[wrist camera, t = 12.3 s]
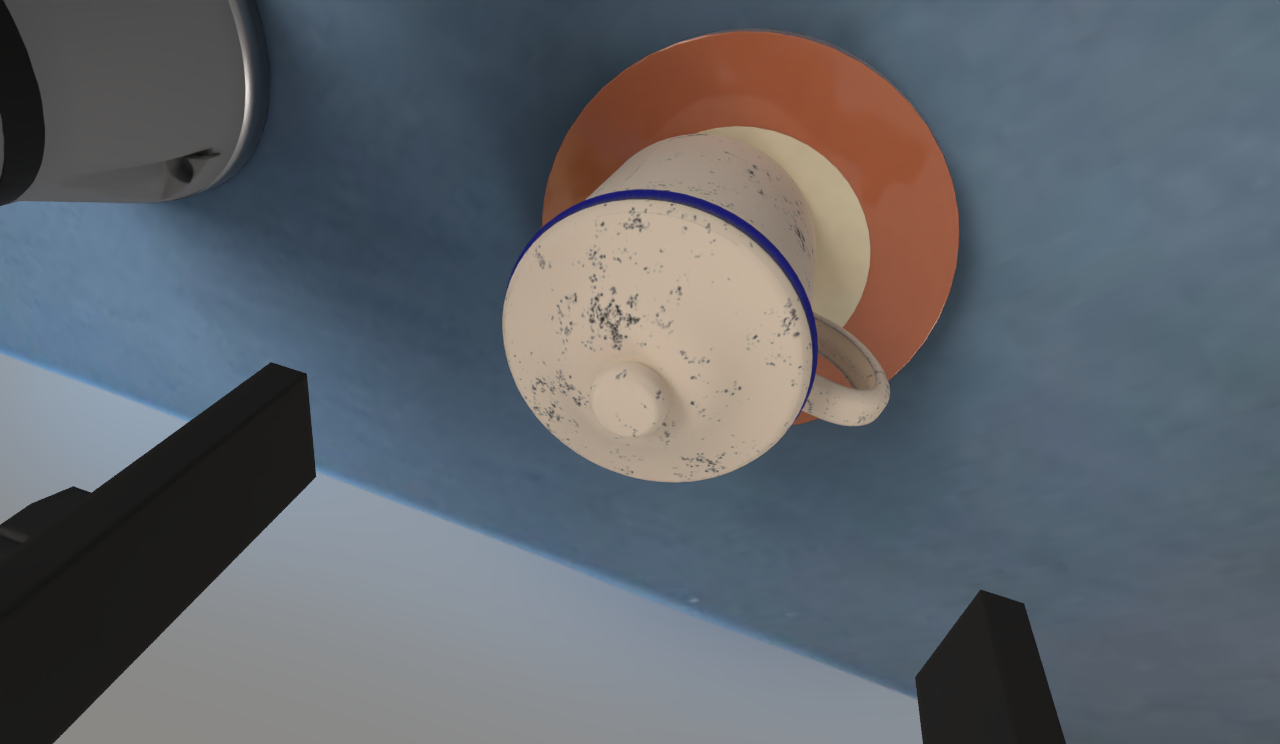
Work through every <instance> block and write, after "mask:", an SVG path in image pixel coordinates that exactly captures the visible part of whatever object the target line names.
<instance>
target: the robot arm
mask: <svg viewBox="0 0 1280 744" xmlns="http://www.w3.org/2000/svg"><path fill="white" fill-rule="evenodd" d="M268 101H269V67H268V57H267V50H266V43H265V38H264V34H263V29H262V24H261V21H260V17H259V14H258V10H257V7H256V3H255V1H254V0H0V206H2V205H6V204H10V203H13V202H17V201H54V202H108V203H157V202H163V201H169V200H177V199H182V198H186V197H189V196H192V195H194V194H197V193H200V192H203V191H206V190H208V189H211V188H213V187H216V186H219V185H220V184H222V183H224V182H226V181H227V180H229V179H230V178H232V177H233V176H234V175H235V174H237V173H238V172H239V171H240V170H241V168H242V167H243V166H244V165H245V164H246V163H247V161H248V160H249V158H250V157H251V156H252V154H253V152H254V150H255V148H256V146H257V144H258V142H259V140H260V137H261V134H262V131H263V128H264V124H265V120H266V116H267V109H268ZM315 477H316V470H315V459H314V448H313V437H312V426H311V415H310V404H309V393H308V382H307V374H306V373H303V372H300V371H297V370H294V369H290V368H287V367H284V366H281V365H278V364H275V363H272V362H271V363H269V364H268V365H267V366H265V367H264V368H262V369H261V370H260V371H258V372H257V373H256V374H254V375H253V376H251V377H250V378H249V379H247V380H246V381H245V382H243V383H242V384H240V385H239V386H238V387H236V388H235V389H234V390H232V391H231V392H229V393H228V394H227V395H225V396H224V397H223V398H221V399H220V400H218V401H217V402H216V403H214V404H213V405H212V406H210V407H209V408H207V409H206V410H205V411H203V412H202V413H201V414H199V415H198V416H196V417H195V418H194V419H192V420H191V421H190V422H188V423H187V424H186V425H184V426H183V427H181V428H180V429H179V430H177V431H176V432H174V433H173V434H172V435H170V436H169V437H168V438H166V439H165V440H164V441H162V442H161V443H159V444H158V445H157V446H155V447H154V448H153V449H151V450H150V451H148V452H147V453H146V454H144V455H143V456H141V457H140V458H139V459H137V460H136V461H135V462H133V463H132V464H131V465H129V466H128V467H126V468H125V469H124V470H122V471H121V472H119V473H118V474H117V475H115V476H114V477H113V478H111V479H110V480H108V481H107V482H106V483H104V484H103V485H102V486H100V487H99V488H97V489H96V490H95V491H93V492H92V493H90V492H87V491H85V490H82V489H79V488H76V487H71V488H69V489H66V490H63V491H61V492H58V493H56V494H54V495H52V496H49V497H46V498H44V499H41V500H39V501H37V502H34V503H32V504H30V505H28V506H27V507H26V508H24V509H23V510H21V511H20V512H18V513H17V514H15V515H14V516H12V517H11V518H10V519H8V520H7V521H5V522H4V523H2V524H1V525H0V744H53V743H54V742H55V741H56V740H57V739H58V738H59V737H60V735H62V734H63V733H64V732H65V731H66V730H67V729H68V728H69V727H70V726H71V725H72V724H73V723H74V721H76V720H77V719H78V718H79V716H81V714H83V713H84V711H85V710H86V709H87V708H88V707H89V706H90V705H91V704H92V703H93V702H94V701H95V700H96V699H97V698H98V697H99V696H100V695H101V694H102V693H103V692H104V691H105V690H106V689H107V688H108V687H109V686H110V685H111V684H112V683H113V682H114V681H115V680H116V679H117V678H118V677H119V676H120V675H121V674H122V673H123V672H124V671H125V670H126V669H127V668H128V667H129V666H130V665H131V664H132V663H133V662H134V661H135V660H136V659H137V658H138V657H139V656H140V655H141V654H142V653H143V652H144V651H145V650H146V648H148V646H149V645H151V644H152V643H153V642H154V641H155V640H156V639H157V637H159V635H160V634H161V633H162V632H163V631H164V630H165V629H166V628H167V627H168V626H169V625H170V624H171V623H172V622H173V621H174V620H175V619H176V618H177V617H178V616H179V615H180V614H181V613H182V612H183V611H184V610H185V609H186V608H187V607H188V606H189V605H190V604H191V603H192V602H193V601H194V600H195V599H196V598H197V597H198V596H199V595H200V594H201V593H202V592H203V591H204V590H205V589H206V588H207V587H208V586H209V585H210V584H211V583H212V582H213V581H214V580H215V579H216V578H217V577H218V576H219V575H220V574H221V573H222V572H223V570H225V568H227V567H228V566H229V565H230V564H231V562H232V561H233V560H234V559H235V558H236V557H237V556H238V555H239V554H240V553H241V552H242V551H243V550H244V549H245V548H246V547H247V546H248V545H249V544H250V543H251V542H252V541H253V540H254V539H255V538H256V537H257V536H258V535H259V534H260V533H261V532H262V531H263V530H264V529H265V528H266V527H267V526H268V525H269V524H270V523H271V522H272V521H273V520H274V519H275V518H276V517H277V516H278V515H279V514H280V513H281V512H282V511H283V510H284V509H285V508H286V507H287V506H288V505H289V504H290V503H291V502H292V501H293V500H294V499H295V498H296V497H297V496H298V495H299V494H300V493H301V491H303V489H305V488H306V487H307V485H308V484H309V483H310V482H311V481H312V480H313V479H314V478H315ZM915 679H916V688H917V696H918V704H919V713H920V722H921V730H922V739H923V744H1066V742H1065V739H1064V736H1063V732H1062V729H1061V726H1060V722H1059V719H1058V716H1057V712H1056V709H1055V706H1054V702H1053V699H1052V696H1051V692H1050V689H1049V686H1048V682H1047V679H1046V676H1045V672H1044V669H1043V666H1042V662H1041V659H1040V655H1039V652H1038V649H1037V645H1036V642H1035V639H1034V635H1033V632H1032V629H1031V625H1030V622H1029V619H1028V615H1027V612H1026V609H1025V605H1024V603H1021V602H1018V601H1014V600H1011V599H1008V598H1005V597H1002V596H999V595H996V594H993V593H990V592H986V591H983V590H980V591H979V592H978V594H977V595H976V597H975V598H974V599H973V601H972V602H971V603H970V605H969V606H968V607H967V609H966V610H965V611H964V613H963V614H962V615H961V617H960V618H959V619H958V621H957V622H956V623H955V625H954V626H953V627H952V629H951V630H950V631H949V633H948V634H947V635H946V637H945V638H944V639H943V641H942V642H941V643H940V645H939V646H938V647H937V649H936V650H935V651H934V653H933V654H932V656H931V657H930V658H929V660H928V661H927V662H926V664H925V665H924V666H923V668H922V669H921V670H920V672H919V673H918V674H917V676H916V677H915Z"/></svg>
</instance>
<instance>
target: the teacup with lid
mask: <svg viewBox="0 0 1280 744" xmlns="http://www.w3.org/2000/svg"><path fill="white" fill-rule="evenodd" d="M815 258H816V236H815V229H814V224H813V220H812V216H811V213H810V210H809V208H808V205H807V202H806V200H805V198H804V197H803V195H802V193H801V191H800V189H799V188H798V186H797V185H796V183H795V182H794V181H793V179H792V178H791V177H790V176H789V174H788V173H787V172H786V171H785V170H784V169H783V168H782V167H781V166H780V165H779V164H778V163H777V162H775V161H774V160H773V159H772V158H771V157H769V156H768V155H766V154H765V153H763V152H762V151H760V150H758V149H756V148H755V147H753V146H751V145H749V144H746V143H744V142H741V141H739V140H736V139H732V138H729V137H725V136H719V135H712V134H688V135H680V136H676V137H672V138H668V139H665V140H662V141H659V142H656V143H654V144H652V145H650V146H648V147H646V148H644V149H643V150H641V151H639V152H638V153H636V154H635V155H633V156H632V157H631V158H630V159H628V160H627V161H626V162H625V163H624V164H623V165H622V166H621V167H620V168H619V169H618V170H616V171H615V172H614V173H613V174H612V175H611V176H610V177H609V178H608V179H607V180H606V181H605V182H604V183H603V184H602V185H600V186H599V187H598V188H597V189H596V190H595V191H594V192H593V193H592V194H591V195H590V196H589V197H588V198H587V199H586V200H585V201H582V202H580V203H578V204H576V205H574V206H572V207H570V208H568V209H567V210H565V211H563V212H562V213H560V214H558V215H557V216H556V217H554V218H553V219H552V220H550V221H549V222H548V223H547V224H545V225H544V226H543V227H542V228H541V229H540V230H539V231H538V232H537V233H536V234H535V235H534V237H533V238H532V239H531V240H530V242H529V243H528V244H527V245H526V247H525V249H524V250H523V252H522V253H521V255H520V256H519V258H518V260H517V262H516V264H515V266H514V268H513V271H512V273H511V276H510V279H509V282H508V286H507V290H506V295H505V301H504V308H503V316H502V331H503V341H504V347H505V352H506V357H507V360H508V364H509V367H510V370H511V373H512V376H513V378H514V381H515V383H516V385H517V387H518V389H519V391H520V393H521V395H522V396H523V398H524V400H525V401H526V403H527V405H528V406H529V407H530V409H531V410H532V412H533V413H534V414H535V416H536V417H537V418H538V419H539V420H540V421H541V423H542V424H543V425H544V426H545V427H546V428H547V429H548V430H549V431H550V432H551V433H552V434H553V435H554V436H555V437H556V438H558V439H559V440H560V441H561V442H562V443H564V444H565V445H566V446H568V447H569V448H570V449H572V450H573V451H575V452H576V453H578V454H579V455H581V456H583V457H584V458H586V459H587V460H589V461H591V462H593V463H595V464H597V465H599V466H602V467H604V468H606V469H609V470H611V471H614V472H617V473H620V474H623V475H626V476H630V477H634V478H638V479H643V480H649V481H658V482H691V481H698V480H704V479H709V478H713V477H717V476H720V475H723V474H726V473H729V472H731V471H734V470H736V469H738V468H740V467H743V466H744V465H746V464H748V463H750V462H752V461H753V460H755V459H757V458H758V457H759V456H761V455H762V454H764V453H765V452H767V451H768V450H769V449H770V448H771V447H772V446H773V445H775V444H776V443H777V442H778V441H779V440H780V438H781V437H782V436H783V435H784V434H785V433H786V432H787V431H788V429H789V428H790V427H791V426H792V424H793V423H794V422H795V420H796V419H797V418H798V416H799V414H800V413H801V411H804V412H806V413H808V414H811V415H813V416H815V417H817V418H820V419H822V420H825V421H828V422H831V423H834V424H838V425H844V426H861V425H866V424H869V423H871V422H873V421H874V420H875V419H876V418H877V417H878V416H879V415H880V413H881V412H882V411H883V409H884V408H885V407H886V405H887V403H888V401H889V397H890V387H889V382H888V379H887V377H886V374H885V372H884V370H883V368H882V367H881V365H880V364H879V362H878V361H877V359H876V358H875V357H874V355H873V354H872V353H871V352H870V351H869V350H868V349H867V347H866V346H865V345H864V344H863V343H861V342H860V341H859V340H858V339H857V338H856V337H855V336H853V335H852V334H851V333H849V332H848V331H847V330H845V329H844V328H842V327H841V326H839V325H837V324H836V323H834V322H832V321H830V320H828V319H827V318H825V317H823V316H821V315H819V314H817V313H815V312H813V311H812V300H813V286H814V272H815ZM818 354H820V355H821V356H823V357H824V358H826V359H827V360H828V361H830V362H831V363H832V364H833V365H834V366H836V367H837V368H838V369H839V370H840V371H841V373H842V374H843V375H844V376H845V377H846V379H847V380H848V381H849V383H850V384H851V386H852V388H849V387H845V386H843V385H840V384H838V383H835V382H833V381H831V380H828V379H826V378H824V377H822V376H820V375H818V374H816V368H817V359H818Z"/></svg>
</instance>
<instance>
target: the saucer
mask: <svg viewBox="0 0 1280 744" xmlns="http://www.w3.org/2000/svg"><path fill="white" fill-rule="evenodd" d="M688 134H712V135H719V136H725V137H729V138H732V139H736V140H739V141H741V142H744V143H746V144H749V145H751V146H753V147H755V148H756V149H758V150H760V151H762V152H763V153H765V154H766V155H768V156H769V157H771V158H772V159H773V160H774V161H775V162H777V163H778V164H779V165H780V166H781V167H782V168H783V169H784V170H785V171H786V172H787V173H788V174H789V176H790V177H791V178H792V179H793V181H794V182H795V183H796V185H797V186H798V188H799V189H800V191H801V193H802V195H803V197H804V198H805V200H806V202H807V205H808V208H809V210H810V213H811V216H812V220H813V224H814V229H815V236H816V258H815V272H814V286H813V300H812V311H813V312H815V313H817V314H819V315H821V316H823V317H825V318H827V319H828V320H830V321H832V322H834V323H836V324H837V325H839V326H841V327H842V328H844V329H845V330H847V331H848V332H849V333H851V334H852V335H853V336H855V337H856V338H857V339H858V340H859V341H860V342H861V343H863V344H864V345H865V346H866V347H867V349H868V350H869V351H870V352H871V353H872V354H873V355H874V357H875V358H876V359H877V361H878V362H879V364H880V365H881V367H882V368H883V370H884V372H885V374H886V377H887V379H888V381H889V380H890V379H892V378H893V377H894V376H895V375H896V374H897V373H898V372H899V371H900V370H901V369H902V368H903V367H904V366H905V365H906V364H907V363H908V362H909V361H910V360H911V359H912V357H913V356H914V355H915V353H916V352H917V351H918V350H919V348H920V347H921V346H922V345H923V343H924V342H925V341H926V339H927V338H928V336H929V334H930V333H931V331H932V329H933V328H934V326H935V324H936V323H937V321H938V319H939V317H940V315H941V312H942V310H943V308H944V305H945V303H946V301H947V298H948V296H949V294H950V290H951V286H952V282H953V278H954V275H955V271H956V267H957V258H958V249H959V240H960V237H959V211H958V205H957V200H956V195H955V190H954V184H953V181H952V178H951V175H950V172H949V169H948V167H947V164H946V161H945V158H944V155H943V153H942V151H941V149H940V147H939V146H938V144H937V142H936V140H935V138H934V136H933V134H932V133H931V131H930V129H929V127H928V125H927V123H926V122H925V120H924V119H923V117H922V116H921V115H920V113H919V112H918V111H917V110H916V108H915V107H914V106H913V104H912V103H911V102H910V100H909V99H908V98H907V96H906V95H905V94H904V93H902V92H901V91H900V90H899V89H898V88H897V87H896V86H895V85H894V84H893V83H892V82H891V81H890V80H889V79H888V78H887V77H886V76H885V75H884V74H882V73H881V72H879V71H878V70H877V69H875V68H874V67H872V66H871V65H869V64H868V63H867V62H865V61H864V60H862V59H861V58H859V57H857V56H855V55H854V54H852V53H850V52H848V51H846V50H844V49H842V48H840V47H838V46H836V45H834V44H831V43H828V42H825V41H822V40H819V39H816V38H813V37H810V36H807V35H804V34H799V33H793V32H788V31H782V30H776V29H757V28H739V29H731V30H722V31H714V32H709V33H706V34H702V35H698V36H695V37H691V38H687V39H683V40H681V41H679V42H676V43H674V44H672V45H669V46H667V47H665V48H662V49H660V50H658V51H656V52H654V53H652V54H649V55H648V56H646V57H645V58H643V59H641V60H640V61H638V62H636V63H635V64H633V65H631V66H630V67H628V68H627V69H625V70H624V71H622V72H621V73H620V74H619V75H617V76H616V77H615V78H614V79H613V80H611V81H610V82H609V83H608V84H607V85H605V86H604V87H603V88H602V89H601V90H600V91H599V92H598V93H597V94H596V95H595V96H594V98H593V99H592V100H591V101H590V102H589V103H588V104H587V105H586V106H585V107H584V109H583V110H582V111H581V113H580V114H579V116H578V117H577V119H576V120H575V122H574V123H573V125H572V126H571V127H570V129H569V130H568V132H567V134H566V136H565V138H564V140H563V142H562V144H561V146H560V148H559V150H558V152H557V154H556V157H555V160H554V163H553V166H552V169H551V172H550V175H549V178H548V182H547V187H546V192H545V197H544V202H543V215H542V227H543V226H544V225H545V224H547V223H548V222H549V221H550V220H552V219H553V218H554V217H556V216H557V215H558V214H560V213H562V212H563V211H565V210H567V209H568V208H570V207H572V206H574V205H576V204H578V203H580V202H582V201H585V200H586V199H587V198H588V197H589V196H590V195H591V194H592V193H593V192H594V191H595V190H596V189H597V188H598V187H599V186H600V185H602V184H603V183H604V182H605V181H606V180H607V179H608V178H609V177H610V176H611V175H612V174H613V173H614V172H615V171H616V170H618V169H619V168H620V167H621V166H622V165H623V164H624V163H625V162H626V161H627V160H628V159H630V158H631V157H632V156H633V155H635V154H636V153H638V152H639V151H641V150H643V149H644V148H646V147H648V146H650V145H652V144H654V143H656V142H659V141H662V140H665V139H668V138H672V137H676V136H680V135H688ZM816 374H818V375H820V376H822V377H824V378H826V379H828V380H831V381H833V382H835V383H838V384H840V385H843V386H845V387H849V388H852V386H851V384H850V383H849V381H848V380H847V379H846V377H845V376H844V375H843V374H842V373H841V371H840V370H839V369H838V368H837V367H836V366H834V365H833V364H832V363H831V362H830V361H828V360H827V359H826V358H824V357H823V356H821V355H820V354H818V359H817V368H816ZM816 419H819V418H817V417H815V416H813V415H811V414H808V413H806V412H804V411H801V413H800V414H799V416H798V418H797V419H796V420H795V422H794V423H793V424H792V425H797V424H802V423H806V422H809V421H813V420H816Z"/></svg>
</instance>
